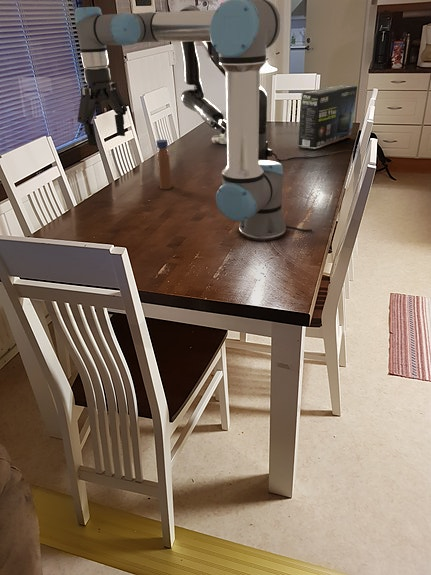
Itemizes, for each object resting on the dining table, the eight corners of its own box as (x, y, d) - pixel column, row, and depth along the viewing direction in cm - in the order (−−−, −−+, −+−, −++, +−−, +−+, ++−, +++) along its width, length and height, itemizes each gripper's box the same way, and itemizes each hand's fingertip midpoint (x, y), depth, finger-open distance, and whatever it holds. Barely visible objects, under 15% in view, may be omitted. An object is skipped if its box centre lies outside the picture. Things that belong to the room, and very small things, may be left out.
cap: (156, 148, 181) (155, 142, 180) (157, 145, 185) (156, 139, 184) (167, 147, 181) (166, 142, 180) (168, 145, 185) (167, 139, 184)
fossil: (235, 140, 241) (216, 121, 244) (224, 157, 247) (206, 139, 251) (251, 138, 254) (233, 121, 258) (241, 154, 261) (223, 138, 264)
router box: (314, 151, 231) (318, 94, 217) (296, 148, 237) (299, 92, 224) (352, 138, 251) (358, 85, 238) (335, 135, 258) (340, 83, 245)
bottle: (159, 189, 190) (155, 143, 180) (160, 185, 194) (156, 140, 184) (171, 189, 190) (167, 143, 180) (172, 185, 194) (168, 140, 184)
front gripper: (114, 63, 147) (123, 131, 158) (55, 72, 129) (70, 148, 140) (132, 63, 144) (140, 132, 155) (75, 72, 126) (88, 150, 137)
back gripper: (203, 103, 195) (224, 122, 187) (226, 111, 206) (246, 130, 198) (195, 119, 199) (215, 138, 191) (218, 126, 209) (237, 145, 201)
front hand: (107, 140), depth 148 cm, fingers open, 13 cm apart
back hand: (231, 134), depth 194 cm, fingers open, 8 cm apart
